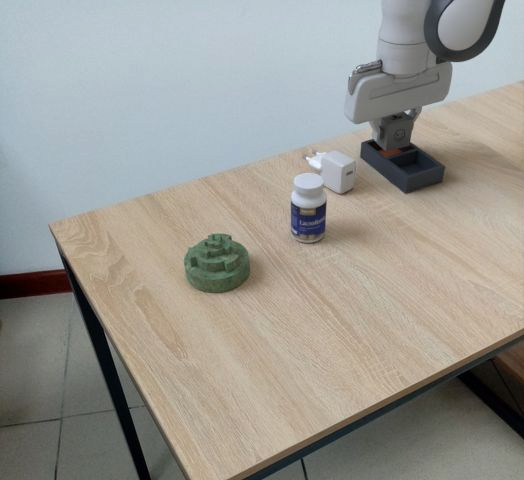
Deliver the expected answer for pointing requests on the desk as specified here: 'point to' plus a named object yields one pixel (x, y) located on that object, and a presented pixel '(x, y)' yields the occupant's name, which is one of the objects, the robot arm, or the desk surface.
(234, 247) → the decorative artifact
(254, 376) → the desk surface
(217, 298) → the desk surface
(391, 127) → the dice cube
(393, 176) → the compartment tray
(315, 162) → the power adapter
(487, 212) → the desk surface
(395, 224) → the desk surface
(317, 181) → the pill bottle
